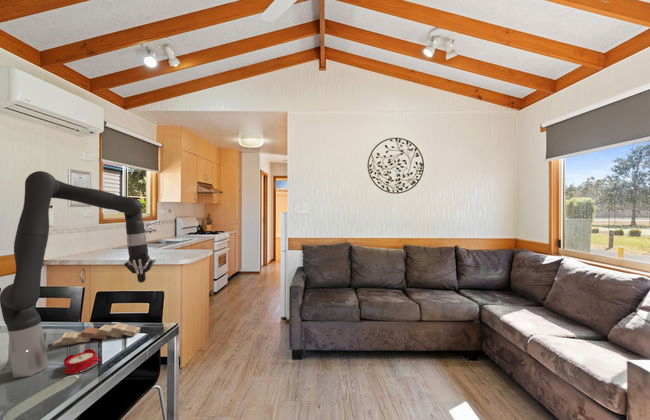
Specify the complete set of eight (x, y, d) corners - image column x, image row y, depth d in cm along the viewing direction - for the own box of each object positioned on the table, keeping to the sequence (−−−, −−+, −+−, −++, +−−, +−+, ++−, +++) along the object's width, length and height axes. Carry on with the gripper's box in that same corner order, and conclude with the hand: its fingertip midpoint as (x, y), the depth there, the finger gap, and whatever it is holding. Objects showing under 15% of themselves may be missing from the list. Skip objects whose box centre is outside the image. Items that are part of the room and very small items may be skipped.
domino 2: (92, 332, 149) (65, 332, 145) (89, 337, 145) (61, 337, 141) (91, 336, 149) (65, 336, 145) (88, 342, 145) (61, 341, 141)
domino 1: (84, 335, 149) (61, 337, 149) (77, 340, 144) (53, 343, 144) (85, 339, 150) (62, 342, 149) (78, 344, 145) (54, 347, 144)
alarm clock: (66, 370, 115) (59, 348, 125) (68, 385, 116) (61, 363, 126) (101, 357, 122) (92, 337, 132) (103, 371, 123) (93, 351, 133)
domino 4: (140, 327, 151) (118, 322, 150) (134, 332, 146) (111, 327, 145) (139, 331, 151) (117, 326, 150) (133, 336, 146) (111, 331, 145)
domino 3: (127, 328, 151) (105, 324, 150) (121, 333, 146) (98, 329, 145) (126, 332, 151) (104, 328, 150) (120, 338, 146) (97, 333, 145)
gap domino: (105, 339, 146) (80, 336, 144) (110, 334, 151) (86, 331, 149) (106, 334, 146) (81, 332, 144) (111, 330, 151) (87, 327, 149)
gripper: (117, 246, 142) (122, 285, 143) (148, 243, 142) (152, 283, 144) (127, 243, 150) (131, 281, 151) (156, 240, 150) (161, 278, 151)
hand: (142, 281), depth 147 cm, fingers closed
